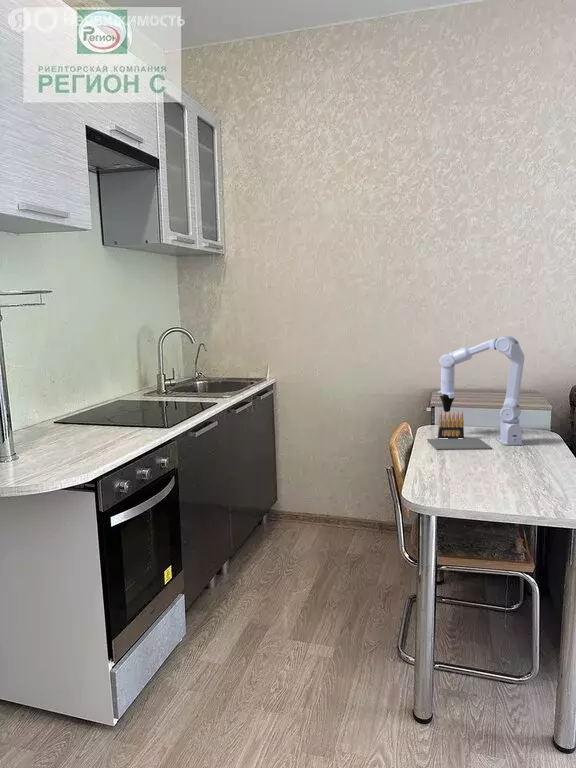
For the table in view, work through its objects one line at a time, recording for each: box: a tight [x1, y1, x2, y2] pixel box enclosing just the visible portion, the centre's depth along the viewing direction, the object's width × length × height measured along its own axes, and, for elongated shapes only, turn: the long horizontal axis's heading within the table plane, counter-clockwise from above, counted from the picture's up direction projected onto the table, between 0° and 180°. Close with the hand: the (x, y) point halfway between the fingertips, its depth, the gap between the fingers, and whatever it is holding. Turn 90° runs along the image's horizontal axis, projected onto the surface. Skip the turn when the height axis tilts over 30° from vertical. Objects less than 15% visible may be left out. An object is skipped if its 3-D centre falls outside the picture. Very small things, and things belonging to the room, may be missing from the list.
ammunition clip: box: [437, 410, 465, 439], centre depth 231 cm, size 11×2×12 cm, turn 83°
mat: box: [426, 437, 493, 451], centre depth 221 cm, size 16×22×1 cm
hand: (446, 411), depth 238 cm, fingers closed
